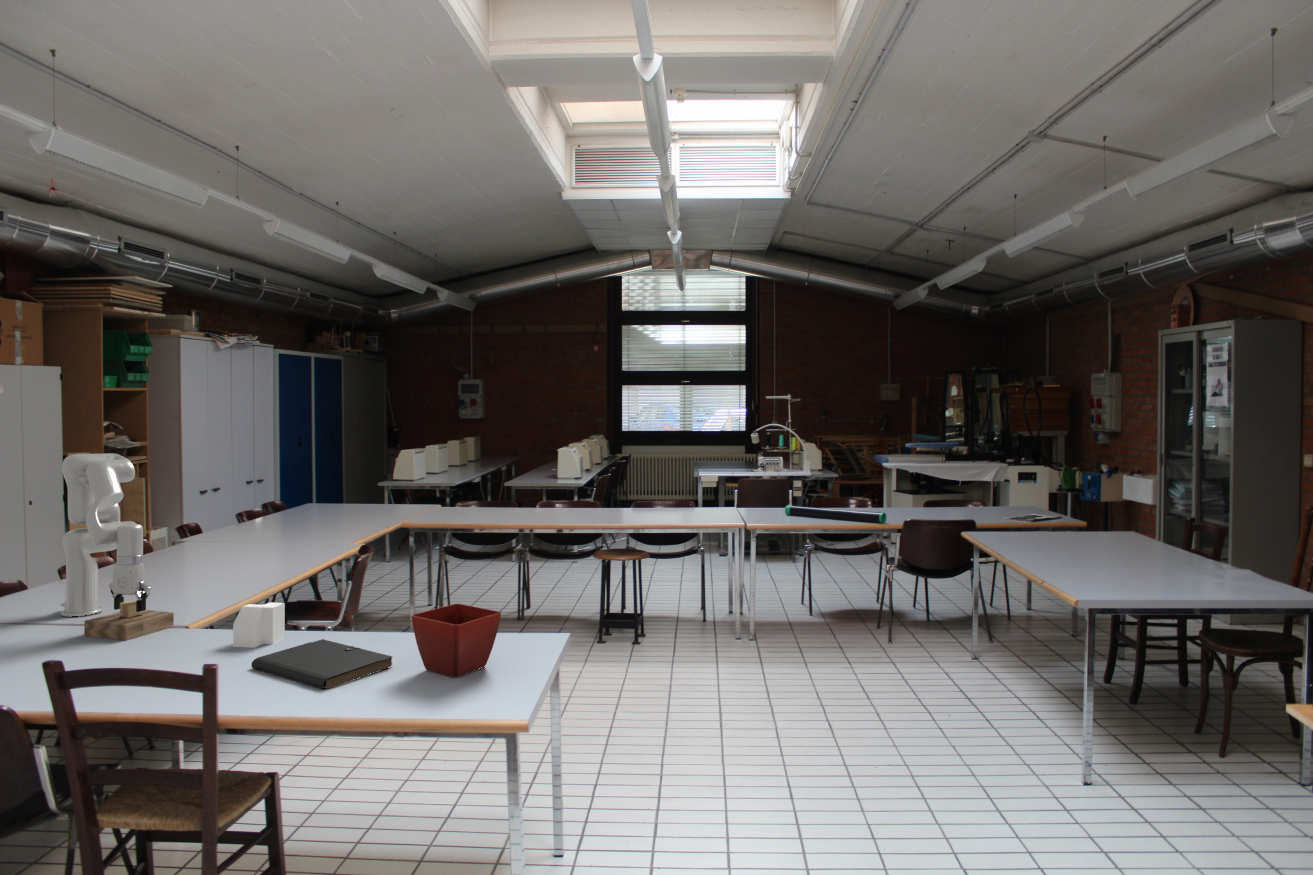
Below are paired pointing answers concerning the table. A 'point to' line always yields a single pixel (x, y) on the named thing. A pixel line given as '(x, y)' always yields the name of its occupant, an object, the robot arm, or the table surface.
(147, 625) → the board
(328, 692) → the table surface
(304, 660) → the dark grey book
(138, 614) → the peg
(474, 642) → the plant pot
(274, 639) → the corner bracket
